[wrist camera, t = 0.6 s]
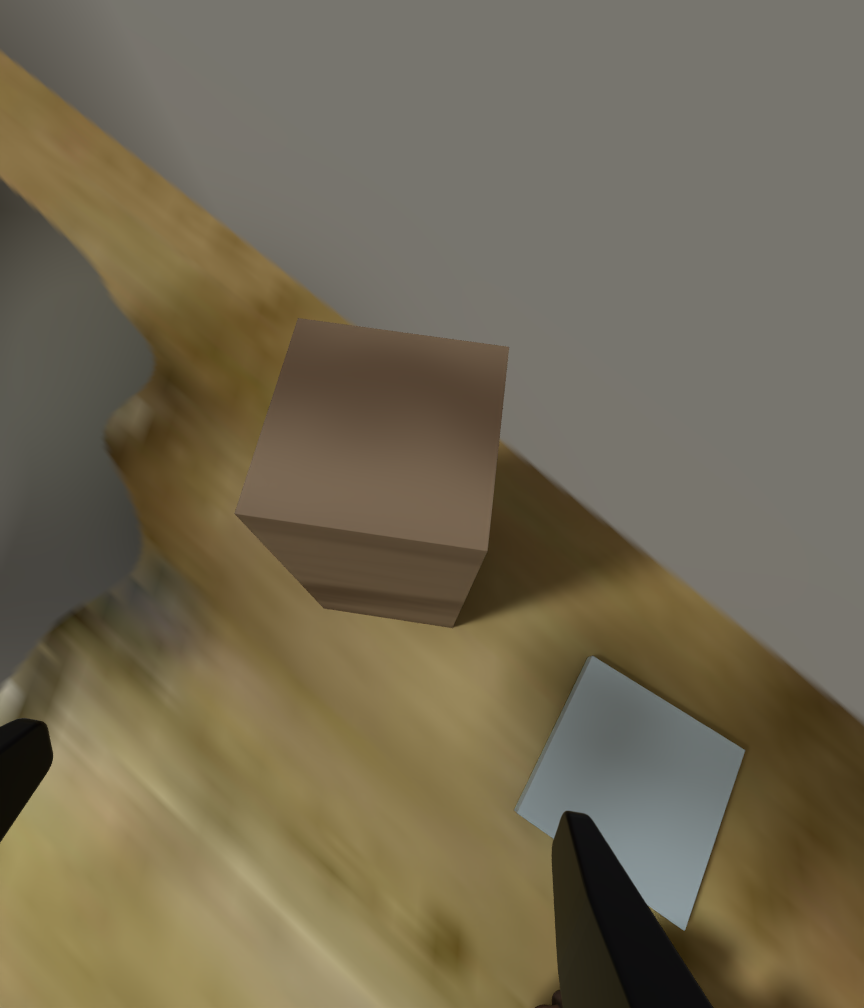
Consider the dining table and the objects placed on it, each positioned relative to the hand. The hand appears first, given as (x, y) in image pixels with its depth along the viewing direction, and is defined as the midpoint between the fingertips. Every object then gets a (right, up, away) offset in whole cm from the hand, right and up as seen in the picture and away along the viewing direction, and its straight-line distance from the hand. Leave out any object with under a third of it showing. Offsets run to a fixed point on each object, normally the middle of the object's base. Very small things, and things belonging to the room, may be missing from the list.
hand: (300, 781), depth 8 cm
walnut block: (+1, +2, +15) cm, 15 cm away
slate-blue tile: (+10, -7, +12) cm, 17 cm away
